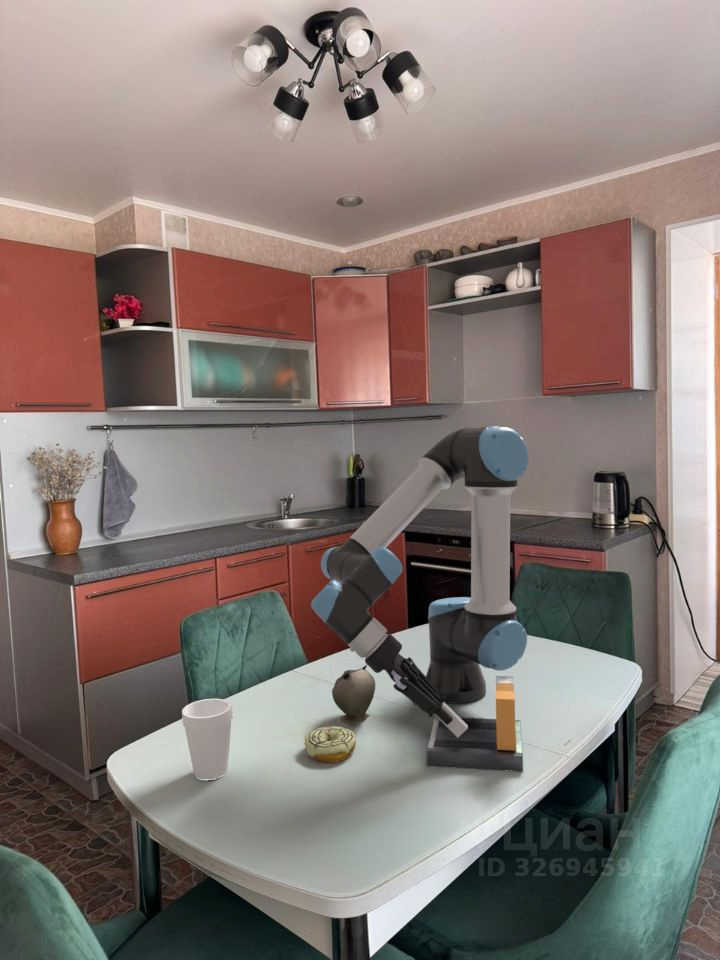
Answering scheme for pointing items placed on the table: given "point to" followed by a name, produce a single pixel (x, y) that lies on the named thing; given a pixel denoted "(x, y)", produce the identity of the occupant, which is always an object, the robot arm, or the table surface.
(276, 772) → the table surface
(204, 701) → the foam cup
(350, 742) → the decorated donut
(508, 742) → the handle
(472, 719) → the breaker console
